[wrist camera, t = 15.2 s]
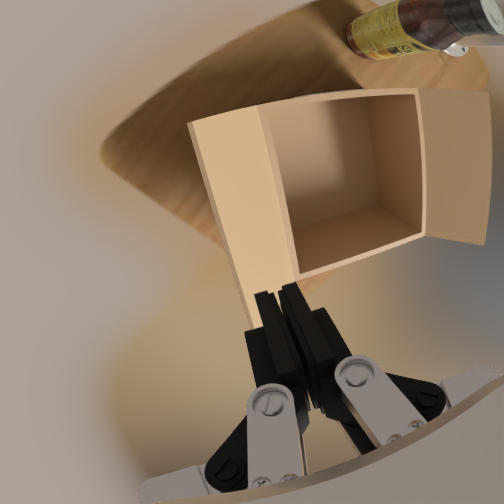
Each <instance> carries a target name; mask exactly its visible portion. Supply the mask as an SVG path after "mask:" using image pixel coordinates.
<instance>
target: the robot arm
mask: <svg viewBox="0 0 504 504" xmlns="http://www.w3.org/2000/svg"><path fill="white" fill-rule="evenodd" d="M494 1H495V2H496V4H497V5H498V7H499V9H500V11H501V13H502V16H503V19H504V0H494ZM477 46H501V47H504V34H503V35H495V36H491V35H488V34H474V35H470V36H465V37H463V38H462V39H460V40H459V41H457V42H455V43H454V44H453V45H451V46H450V47H448V48H447V49H445V50H441V51H442V52H443V53H445V54H447V55H449V56H454V57H458V56H463V55H465V54H466V52H467V51H468V49H469V47H477ZM278 296H279V300H280V304H281V309H282V312H281V309H280V307H279V304H278V302H277V299H276V297H275V294H274V292H272V293H269V294H268V291H267V290H266V291H263V292H259V293H256V294H254V297H255V300H256V304H257V307H258V310H259V314H260V317H261V321H262V324H263V326H262V327H259V328H256V329H252V330H249V331H245V332H244V333H245V339H246V343H247V347H248V352H249V357H250V361H251V365H252V370H253V374H254V378H255V382H256V387H257V389H255V390H254V391H253V392H252V393H251V395H250V397H249V398H248V402H247V415H246V416H245V418H244V419H243V420H242V421H241V423H240V424H239V425H238V426H237V428H236V429H235V430H234V431H233V432H232V434H231V435H230V436H229V437H228V438H227V440H226V441H225V442H224V443H223V444H222V446H221V447H220V448H219V449H218V450H217V451H216V452H215V454H214V455H213V456H212V457H211V458H210V459H209V461H208V462H207V463H206V464H203V465H200V466H197V465H194V466H191V467H188V468H185V469H182V470H178V471H175V472H172V473H169V474H165V475H161V476H158V477H154V478H150V479H148V480H146V481H144V482H143V483H142V485H141V486H140V488H139V498H140V502H141V504H504V375H502V376H500V377H499V375H498V373H497V371H496V370H495V369H494V368H492V367H491V366H488V365H481V366H478V367H476V368H474V369H471V370H468V371H465V372H463V373H461V374H458V375H455V376H452V377H449V378H446V379H443V380H441V382H440V383H438V384H434V383H431V382H426V381H421V380H416V379H412V378H407V377H403V376H398V375H394V374H389V373H385V372H384V371H383V370H382V369H381V368H380V367H379V366H378V365H377V363H376V362H375V361H373V360H372V359H371V358H369V357H366V356H361V355H355V356H352V354H351V352H350V351H349V349H348V347H347V345H346V344H345V342H344V340H343V338H342V337H341V335H340V333H339V331H338V330H337V328H336V326H335V324H334V323H333V321H332V319H331V318H330V316H329V314H328V313H327V311H326V309H325V308H324V307H323V308H320V309H317V310H314V311H311V310H310V308H309V306H308V304H307V302H306V300H305V298H304V297H303V295H302V293H301V291H300V289H299V287H298V285H297V283H296V282H292V283H289V284H286V285H283V286H282V290H279V291H278ZM282 313H283V314H282ZM307 390H308V392H307ZM308 393H309V396H310V398H311V401H312V404H313V406H314V408H315V409H317V408H320V410H321V412H322V414H326V417H327V418H330V419H333V420H336V422H337V424H338V426H339V428H340V429H341V430H342V432H343V434H344V435H345V437H346V438H347V440H348V442H349V443H350V445H351V446H352V448H353V449H354V451H355V452H356V454H357V455H358V457H357V458H355V459H352V460H350V461H347V462H344V463H341V464H339V465H336V466H333V467H331V468H328V469H325V470H321V471H318V472H315V473H312V474H309V475H308V470H307V462H306V455H305V448H304V440H303V433H304V431H305V430H306V428H307V427H308V425H309V423H310V422H309V417H308V411H310V403H309V398H308Z"/></svg>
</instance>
